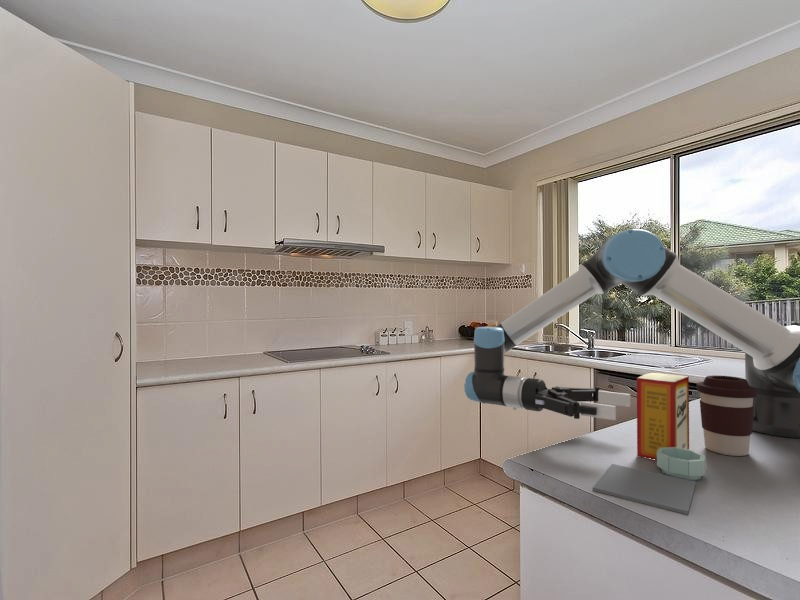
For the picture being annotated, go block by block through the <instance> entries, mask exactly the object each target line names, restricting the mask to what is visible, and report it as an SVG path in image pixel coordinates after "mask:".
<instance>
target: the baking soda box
mask: <svg viewBox="0 0 800 600" xmlns="http://www.w3.org/2000/svg"><path fill="white" fill-rule="evenodd" d="M689 380H690V378H689V376H688V375H679V374H669V373H662V372H649V373H645V374H643V375H640V376H638V377H636V441H637V442H636V450H637V451H636V452H637V453H636V454H637V455H636V456H637V457H638V456H641V457H640V458H642V457H646V458H651V459H655V460H657V451H658V449H659V448H661V447H677V448H683V449H688V450H690V395H689V393H690V385H689V383H690V382H689ZM646 458H645V459H646ZM651 459H650V460H651ZM655 460H654V461H655Z"/></svg>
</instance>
